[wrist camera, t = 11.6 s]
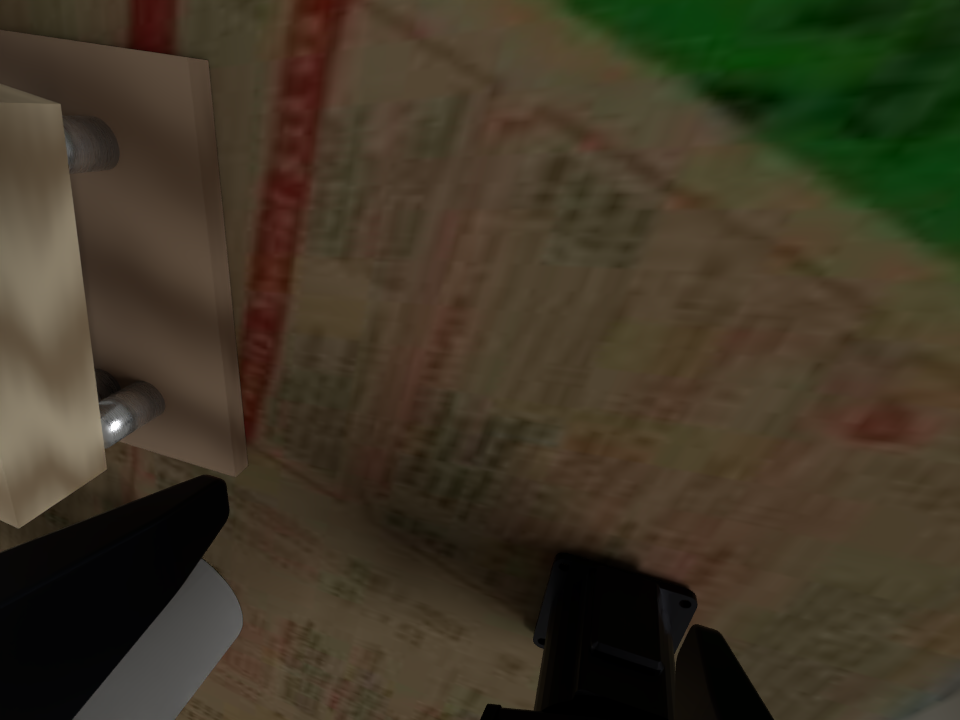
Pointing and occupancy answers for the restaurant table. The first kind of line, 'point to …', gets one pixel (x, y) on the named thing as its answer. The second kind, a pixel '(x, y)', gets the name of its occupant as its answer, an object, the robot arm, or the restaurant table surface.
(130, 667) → the coffee mug
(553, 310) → the restaurant table surface
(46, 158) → the pine board
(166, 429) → the peg holder
